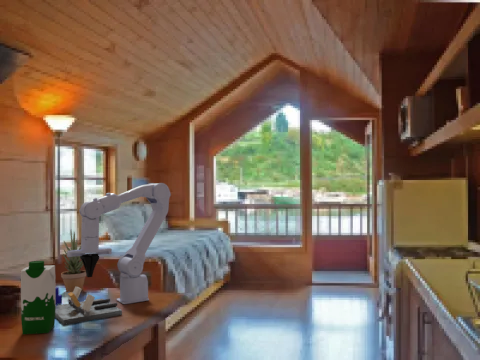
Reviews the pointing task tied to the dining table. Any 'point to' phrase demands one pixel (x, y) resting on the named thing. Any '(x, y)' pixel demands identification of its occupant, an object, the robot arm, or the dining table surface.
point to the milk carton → (38, 298)
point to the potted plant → (73, 269)
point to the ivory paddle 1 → (77, 291)
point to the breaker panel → (83, 312)
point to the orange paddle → (74, 299)
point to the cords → (103, 305)
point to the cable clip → (58, 296)
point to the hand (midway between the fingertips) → (89, 276)
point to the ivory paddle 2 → (88, 302)
